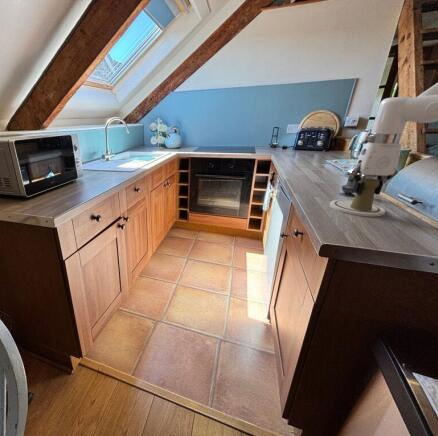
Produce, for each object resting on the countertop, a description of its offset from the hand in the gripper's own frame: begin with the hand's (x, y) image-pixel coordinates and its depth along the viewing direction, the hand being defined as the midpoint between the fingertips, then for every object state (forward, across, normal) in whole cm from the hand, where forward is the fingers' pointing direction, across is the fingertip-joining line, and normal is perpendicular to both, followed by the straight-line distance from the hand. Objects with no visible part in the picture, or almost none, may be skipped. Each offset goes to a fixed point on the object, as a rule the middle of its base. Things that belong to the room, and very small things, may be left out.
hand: (365, 192), depth 86 cm
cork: (+6, 0, 0) cm, 6 cm away
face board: (+7, 0, +3) cm, 8 cm away
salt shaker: (+7, +9, +21) cm, 24 cm away
